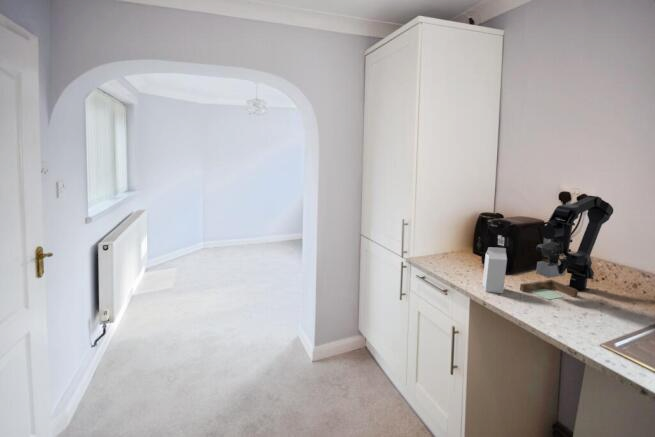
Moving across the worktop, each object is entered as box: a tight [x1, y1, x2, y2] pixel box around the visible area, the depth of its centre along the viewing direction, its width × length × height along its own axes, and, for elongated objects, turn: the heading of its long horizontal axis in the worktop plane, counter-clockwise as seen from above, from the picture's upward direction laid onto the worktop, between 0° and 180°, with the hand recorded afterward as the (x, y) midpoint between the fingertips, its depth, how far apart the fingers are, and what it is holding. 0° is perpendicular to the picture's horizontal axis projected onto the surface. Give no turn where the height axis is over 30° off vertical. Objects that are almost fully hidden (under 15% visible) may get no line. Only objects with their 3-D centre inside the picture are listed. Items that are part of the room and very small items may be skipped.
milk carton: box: [482, 246, 508, 294], centre depth 162 cm, size 7×7×19 cm
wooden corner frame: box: [519, 279, 579, 298], centre depth 160 cm, size 18×13×3 cm
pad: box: [529, 288, 565, 300], centre depth 160 cm, size 9×9×1 cm
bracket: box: [535, 260, 566, 279], centre depth 157 cm, size 9×6×5 cm, turn 109°
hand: (557, 272), depth 157 cm, fingers closed on bracket, 3 cm apart
